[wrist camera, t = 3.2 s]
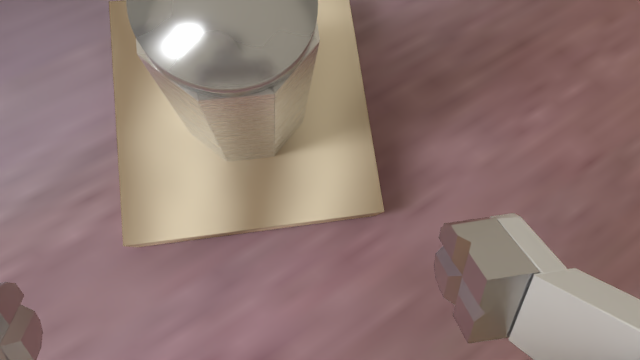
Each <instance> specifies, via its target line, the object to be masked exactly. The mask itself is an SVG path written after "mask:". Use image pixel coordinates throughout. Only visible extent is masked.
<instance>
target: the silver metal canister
mask: <svg viewBox="0 0 640 360" xmlns="http://www.w3.org/2000/svg"><path fill="white" fill-rule="evenodd" d="M126 7H127V14H128V19H129V22H130V25H131V28H132V31H133V33H134V35H135V37H136V48H137V55H138V56H139V58H140V59H141V61H142V62H143V64H144V65H145V67H146V68H147V70H148V71H149V73H150V74H151V76H152V77H153V79H154V80H155V82H156V83H157V85H158V86H159V88H160V89H161V90H162V92H163V93H164V95H165V96H166V98H167V99H168V101H169V102H170V104H171V105H172V107H173V108H174V110H175V111H176V113H177V114H178V116H179V117H180V119H181V120H182V122H183V123H184V125H185V126H186V128H187V129H188V131H189V132H190V133H191V134H192V135H193V136H194V137H196V138H197V139H198V140H200V141H201V142H202V143H204V144H205V145H206V146H207V147H209V148H210V149H211V150H213V151H214V152H215V153H217V154H218V155H219V156H220V157H222V158H223V159H224V160H226V161H228V162H230V161H239V160H248V159H257V158H266V157H274V156H275V155H276V154H277V153H278V152H279V151H280V149H281V148H282V147H283V146H284V144H285V143H286V142H287V141H288V140H289V138H290V137H291V136H292V135H293V133H294V132H295V131H296V130H297V129H298V127H299V126H300V125H301V124H302V122H303V119H304V114H305V109H306V104H307V100H308V95H309V90H310V85H311V80H312V76H313V71H314V66H315V61H316V56H317V52H318V47H319V42H320V38H319V31H318V24H317V15H318V0H126Z"/></svg>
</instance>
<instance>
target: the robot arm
mask: <svg viewBox="0 0 640 360" xmlns="http://www.w3.org/2000/svg"><path fill="white" fill-rule="evenodd" d="M439 239H440V241H441V243H442V244H443V246H442V247H441V249H440V250H439V251H438V252H437V253H436V255H435V261H434V270H435V278H436V281H437V284H438V287H439V289H440V291H441V293H442V295H443V297H444V298H445V299H447V300H448V301H450V302H451V303H453V304H454V305H455V308H454V313H453V317H454V318H455V320H456V322H457V324H458V326H459V328H460V330H461V332H462V334H463V335H464V337H465V339H466V341H467V343H475V342H481V341H488V340H495V339H502V338H509V339H508V340H509V341H511V342H512V343H513V344H514V345H516V346H517V347H518V348H519V349H521V350H522V351H523V352H525V353H526V354H527V355H528V356H530V357H531V358H532V359H533V360H640V299H638V298H636V297H634V296H632V295H630V294H628V293H625V292H623V291H621V290H619V289H617V288H615V287H613V286H611V285H609V284H607V283H605V282H603V281H601V280H599V279H597V278H594V277H592V276H590V275H588V274H586V273H584V272H582V271H580V270H578V269H576V268H571V269H567V268H566V267H565V266H564V264H563V263H562V262H561V261H560V260H559V259H558V258H557V257H556V256H555V254H554V253H553V252H552V251H551V250H550V249H549V248H548V247H547V246H546V244H545V243H544V242H543V241H542V240H541V239H540V238H539V237H538V236H537V234H536V233H535V232H534V231H533V230H532V229H531V228H530V227H529V226H528V224H527V223H526V222H525V221H524V220H523V219H522V218H521V217H520V216H519V215H517V214H515V213H511V214H504V215H497V216H491V217H485V218H478V219H471V220H464V221H457V222H450V223H444V224H443V226H442V227H441V229H440V234H439ZM23 297H24V294H23V293H22V291H21V290H20V289H19V287H18V286H17V285H16V283H8V282H4V283H0V360H37V357H38V354H39V352H40V349H41V345H42V334H43V330H42V326H41V322H40V319H39V318H38V316H37V314H36V313H35V311H33V310H31V309H29V308H27V307H25V306H23V305H21V302H22V300H23Z"/></svg>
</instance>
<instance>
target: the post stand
mask: <svg viewBox="0 0 640 360" xmlns="http://www.w3.org/2000/svg"><path fill="white" fill-rule="evenodd" d="M109 12H110V29H111V46H112V63H113V80H114V97H115V115H116V132H117V149H118V166H119V183H120V200H121V217H122V234H123V246H128V247H143V246H151V245H158V244H166V243H173V242H181V241H189V240H196V239H204V238H211V237H219V236H226V235H234V234H242V233H249V232H257V231H264V230H272V229H279V228H287V227H294V226H302V225H310V224H317V223H325V222H332V221H340V220H347V219H355V218H362V217H370V216H375V215H378V214H380V213H383V212H384V207H383V201H382V195H381V189H380V183H379V177H378V171H377V165H376V159H375V153H374V147H373V141H372V135H371V129H370V123H369V117H368V111H367V105H366V99H365V93H364V87H363V81H362V74H361V68H360V62H359V56H358V50H357V44H356V38H355V32H354V26H353V20H352V14H351V8H350V2H349V0H318V15H317V24H318V31H319V38H320V42H319V47H318V52H317V56H316V61H315V66H314V71H313V76H312V80H311V85H310V90H309V95H308V100H307V104H306V109H305V114H304V119H303V122H302V124H301V125H300V126H299V127H298V129H297V130H296V131H295V132H294V133H293V135H292V136H291V137H290V138H289V140H288V141H287V142H286V143H285V144H284V146H283V147H282V148H281V149H280V151H279V152H278V153H277V154H276V155H275V156H274V157H266V158H257V159H248V160H239V161H230V162H228V161H226V160H224V159H223V158H222V157H220V156H219V155H218V154H217V153H215V152H214V151H213V150H211V149H210V148H209V147H207V146H206V145H205V144H204V143H202V142H201V141H200V140H198V139H197V138H196V137H194V136H193V135H192V134H191V133H190V132H189V131H188V129H187V128H186V126H185V125H184V123H183V122H182V120H181V119H180V117H179V116H178V114H177V113H176V111H175V110H174V108H173V107H172V105H171V104H170V102H169V101H168V99H167V98H166V96H165V95H164V93H163V92H162V90H161V89H160V88H159V86H158V85H157V83H156V82H155V80H154V79H153V77H152V76H151V74H150V73H149V71H148V70H147V68H146V67H145V65H144V64H143V62H142V61H141V59H140V58H139V56H138V55H137V48H136V37H135V35H134V33H133V31H132V28H131V25H130V22H129V19H128V14H127V7H126V0H125V1H109Z"/></svg>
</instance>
